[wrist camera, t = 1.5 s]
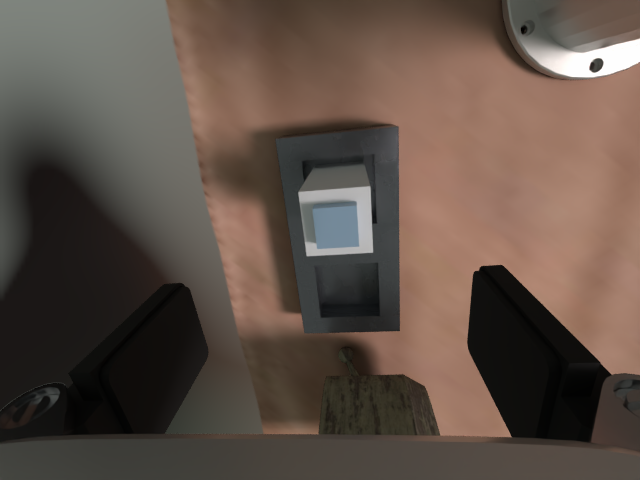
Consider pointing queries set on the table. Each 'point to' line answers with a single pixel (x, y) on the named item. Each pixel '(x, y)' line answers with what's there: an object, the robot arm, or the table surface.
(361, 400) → the tabletop clock
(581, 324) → the table surface
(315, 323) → the panel
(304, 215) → the plug
